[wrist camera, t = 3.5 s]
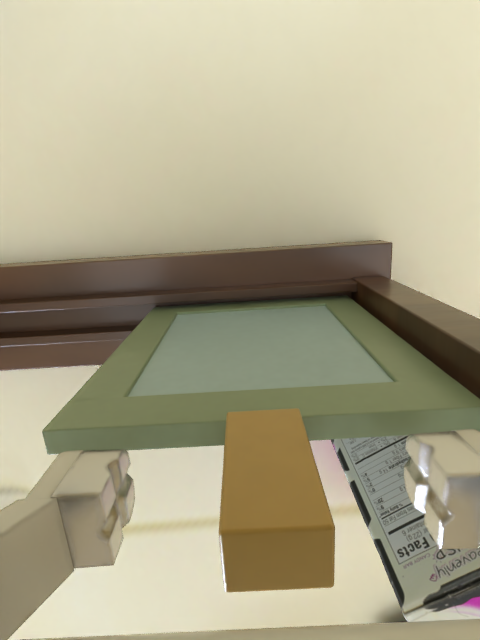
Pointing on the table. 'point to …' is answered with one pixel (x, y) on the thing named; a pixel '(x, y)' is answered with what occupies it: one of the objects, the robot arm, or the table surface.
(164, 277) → the window frame
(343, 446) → the candy bar box
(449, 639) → the robot arm
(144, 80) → the table surface
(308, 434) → the window pane
